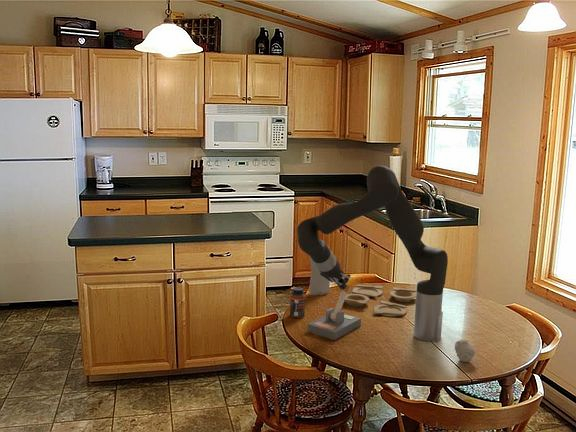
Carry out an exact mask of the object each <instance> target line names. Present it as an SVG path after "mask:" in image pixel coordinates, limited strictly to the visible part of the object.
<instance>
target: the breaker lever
mask: <svg viewBox="0 0 576 432" xmlns="http://www.w3.org/2000/svg"><path fill="white" fill-rule="evenodd" d="M338 291H339V292H340V295H339V297H338V299H337V303H336V305H335V307H334V313H331V315H330V319H331V320H334V321H336V313H338V312H340V311H342V308H343V305H344V303H345V301H344V300H345V297H346V295H347V294H352V291H353V287H351V286H350V285H347V284H346V287H345V289H344V290H343V289H340V288H339V287H338Z"/></svg>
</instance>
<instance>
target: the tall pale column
mask: <svg viewBox="0 0 576 432" xmlns="http://www.w3.org/2000/svg"><path fill="white" fill-rule="evenodd" d="M328 248H329V249H330V247H329V246H328ZM309 263H310V279H309V296H323V295H326V294H330V285H331V284H330V283H331V282H330V281H329V280H327V279H326V278H324V277H323V276H321V275H320V273H321V272H320V271H319V269H318V268H317V267H316V265H315V263H314V261H313V260H312V258H311V257H310V256H309Z"/></svg>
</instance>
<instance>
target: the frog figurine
mask: <svg viewBox="0 0 576 432" xmlns="http://www.w3.org/2000/svg"><path fill="white" fill-rule="evenodd" d="M454 350H455V353H456V357H457V358H458V360H459V361H461V362H463V363H469V362H470V361H472V359H473V357H475V353H476V352H475V348H474V347H473V345H472V344H471V343H469V341H468V339H460V340H458V341H456V342H455V343H454Z"/></svg>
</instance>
